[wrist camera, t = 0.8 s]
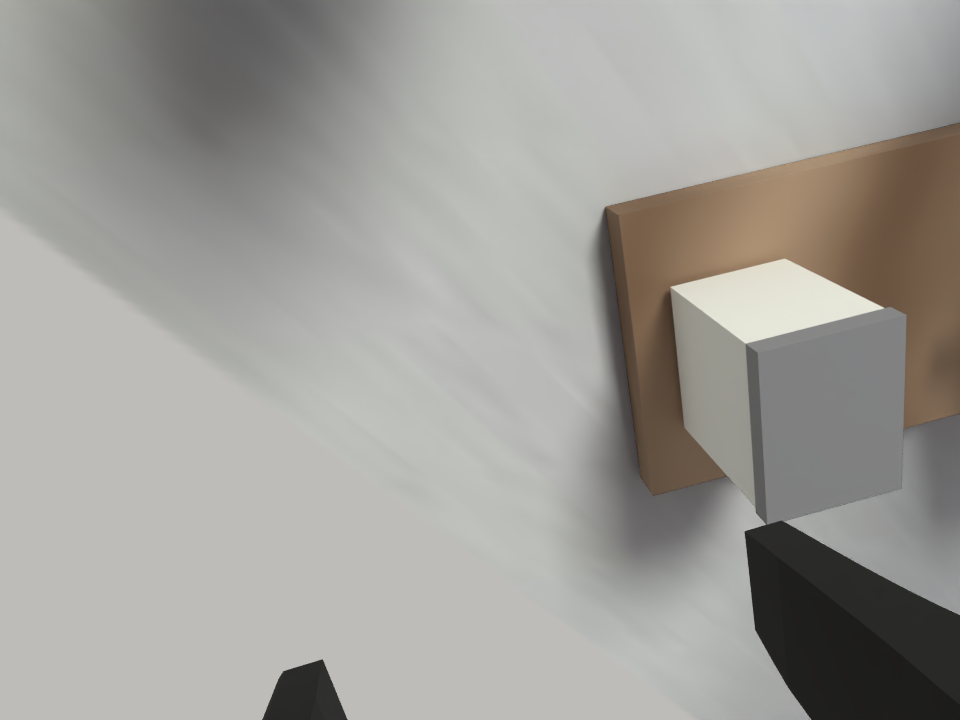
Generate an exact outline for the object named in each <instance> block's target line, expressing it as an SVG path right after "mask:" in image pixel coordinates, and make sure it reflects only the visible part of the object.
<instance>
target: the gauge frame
mask: <svg viewBox="0 0 960 720" xmlns="http://www.w3.org/2000/svg"><path fill="white" fill-rule="evenodd" d="M606 215H607V222H608V230H609V238H610V245H611V253H612V261H613V269H614V276H615V284H616V292H617V299H618V307H619V315H620V322H621V330H622V338H623V345H624V353H625V361H626V368H627V376H628V384H629V391H630V399H631V407H632V415H633V422H634V430H635V438H636V445H637V453H638V461H639V468H640V476H641V479H642V480H643V481H644V483H645V484H646V486H647V487H648V489H649V490H650V492H651V493H652V494H653V496H655V495H658V494H662V493H666V492H670V491H673V490H677V489H681V488H685V487H688V486H692V485H696V484H699V483H703V482H707V481H711V480H714V479H718V478H722V477H725V476H727V475H726V474H725V473H724V472H723V471H722V469H721V468H720V467H719V466H718V465H717V464H716V463H715V462H714V460H713V459H712V458H711V457H710V456H709V455H708V454H707V453H706V451H705V450H704V449H703V448H702V447H701V446H700V445H699V444H698V442H697V441H696V440H695V439H694V438H693V437H692V436H691V435H690V433H689V432H688V431H687V430H686V429H685V428H684V419H683V409H682V399H681V389H680V379H679V369H678V359H677V349H676V340H675V330H674V320H673V310H672V300H671V290H670V287H672V286H676V285H680V284H684V283H688V282H692V281H696V280H700V279H704V278H708V277H712V276H716V275H720V274H724V273H728V272H733V271H737V270H741V269H745V268H749V267H753V266H757V265H761V264H765V263H769V262H773V261H777V260H781V259H787V260H789V261H791V262H793V263H795V264H797V265H799V266H801V267H803V268H805V269H807V270H809V271H811V272H813V273H815V274H817V275H819V276H821V277H823V278H825V279H827V280H829V281H831V282H833V283H835V284H837V285H839V286H841V287H843V288H845V289H847V290H849V291H851V292H853V293H855V294H857V295H859V296H861V297H863V298H865V299H867V300H869V301H871V302H873V303H875V304H877V305H879V306H881V307H883V308H888V307H892V308H894V309H896V310H898V311H900V312H902V313H904V314H906V315H907V316H906V352H905V388H904V423H903V429H904V428H908V427H912V426H915V425H919V424H923V423H927V422H930V421H934V420H938V419H942V418H945V417H949V416H953V415H956V414H960V123H957V124H953V125H949V126H945V127H940V128H936V129H932V130H928V131H923V132H919V133H915V134H911V135H907V136H902V137H898V138H894V139H890V140H885V141H881V142H877V143H873V144H869V145H864V146H860V147H856V148H852V149H847V150H843V151H839V152H835V153H831V154H826V155H822V156H818V157H814V158H809V159H805V160H801V161H797V162H793V163H788V164H784V165H780V166H776V167H771V168H767V169H763V170H759V171H754V172H750V173H746V174H742V175H738V176H733V177H729V178H725V179H721V180H716V181H712V182H708V183H704V184H700V185H695V186H691V187H687V188H683V189H678V190H674V191H670V192H666V193H662V194H657V195H653V196H649V197H645V198H640V199H636V200H632V201H628V202H624V203H619V204H615V205H611V206H607V207H606Z"/></svg>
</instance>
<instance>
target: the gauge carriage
mask: <svg viewBox="0 0 960 720" xmlns="http://www.w3.org/2000/svg"><path fill="white" fill-rule="evenodd" d="M670 290H671V300H672V310H673V320H674V330H675V340H676V349H677V359H678V369H679V379H680V389H681V399H682V409H683V419H684V428H685V429H686V430H687V431H688V432H689V433H690V435H691V436H692V437H693V438H694V439H695V440H696V441H697V442H698V444H699V445H700V446H701V447H702V448H703V449H704V450H705V451H706V453H707V454H708V455H709V456H710V457H711V458H712V459H713V460H714V462H715V463H716V464H717V465H718V466H719V467H720V468H721V469H722V471H723V472H724V473H725V474H726V475H727V476H728V477H729V478H730V480H731V481H732V482H733V483H734V484H735V485H736V486H737V487H738V488H739V490H740V491H741V492H742V493H743V494H744V495H745V496H746V497H747V499H748V500H749V501H750V502H751V503H752V504H753V505H754V506H755V508H756V513H757V515H758V516H759V517H760V518H761V519H762V520H763V521H764V522H765V524H766V525H768V524H771V523H774V522H778V521H786V520H790V519H793V518H797V517H801V516H804V515H808V514H812V513H815V512H819V511H823V510H826V509H830V508H833V507H837V506H841V505H844V504H848V503H852V502H855V501H859V500H863V499H866V498H870V497H873V496H877V495H881V494H884V493H888V492H892V491H895V490H899V489H902V459H903V423H904V388H905V352H906V316H907V315H906V314H904V313H902V312H900V311H898V310H896V309H894V308H892V307H888V308H883V307H881V306H879V305H877V304H875V303H873V302H871V301H869V300H867V299H865V298H863V297H861V296H859V295H857V294H855V293H853V292H851V291H849V290H847V289H845V288H843V287H841V286H839V285H837V284H835V283H833V282H831V281H829V280H827V279H825V278H823V277H821V276H819V275H817V274H815V273H813V272H811V271H809V270H807V269H805V268H803V267H801V266H799V265H797V264H795V263H793V262H791V261H789V260H787V259H781V260H777V261H773V262H769V263H765V264H761V265H757V266H753V267H749V268H745V269H741V270H737V271H733V272H728V273H724V274H720V275H716V276H712V277H708V278H704V279H700V280H696V281H692V282H688V283H684V284H680V285H676V286H672V287H670Z"/></svg>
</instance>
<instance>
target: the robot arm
mask: <svg viewBox="0 0 960 720" xmlns="http://www.w3.org/2000/svg"><path fill="white" fill-rule="evenodd" d="M745 539H746V548H747V557H748V567H749V576H750V585H751V594H752V604H753V613H754V622H755V630H756V632H757V634H758V636H759V637H760V639H761V641H762V643H763V644H764V646H765V648H766V650H767V652H768V653H769V655H770V657H771V659H772V661H773V662H774V664H775V666H776V667H777V669H778V671H779V673H780V674H781V676H782V678H783V679H784V681H785V683H786V685H787V686H788V688H789V689H790V691H791V692H792V694H793V695H794V696H795V698H796V699H797V700H798V702H799V703H800V705H801V706H802V707H803V709H804V710H805V711H806V713H807V714H808V716H809V717H810V718H811V720H960V615H958V614H956V613H954V612H952V611H949V610H947V609H945V608H943V607H941V606H939V605H937V604H935V603H933V602H930V601H928V600H926V599H924V598H922V597H920V596H918V595H916V594H914V593H912V592H910V591H908V590H907V589H905V588H903V587H901V586H899V585H897V584H895V583H893V582H891V581H889V580H887V579H886V578H884V577H882V576H880V575H878V574H876V573H874V572H872V571H871V570H869V569H867V568H865V567H863V566H861V565H860V564H858V563H856V562H854V561H852V560H851V559H849V558H847V557H845V556H843V555H842V554H840V553H838V552H836V551H834V550H833V549H831V548H829V547H827V546H826V545H824V544H822V543H820V542H819V541H817V540H815V539H813V538H812V537H810V536H808V535H806V534H805V533H803V532H801V531H799V530H798V529H796V528H794V527H792V526H790V525H789V524H787V523H785V522H783V521H778V522H774V523H771V524H768V525H764V526H761V527H758V528H755V529H751V530H748V531H745ZM262 720H347V718H346V715H345V713H344V710H343V708H342V705H341V703H340V701H339V698H338V696H337V693H336V691H335V688H334V686H333V683H332V681H331V679H330V676H329V674H328V671H327V669H326V666H325V664H324V662H323V660H319V661H316V662H313V663H309V664H306V665H303V666H299V667H296V668H293V669H289V670H286V671H283V673H282V674H281V676H280V678H279V679H278V682H277V684H276V687H275V689H274V692H273V694H272V697H271V700H270V702H269V705H268V707H267V710H266V712H265V714H264V717H263V719H262Z"/></svg>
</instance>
